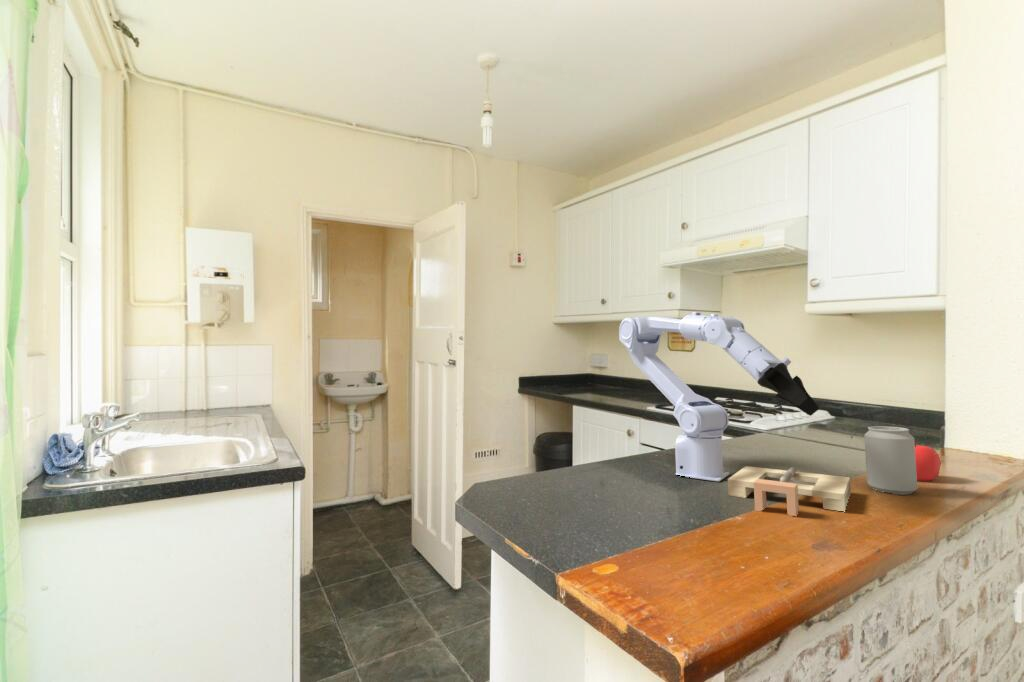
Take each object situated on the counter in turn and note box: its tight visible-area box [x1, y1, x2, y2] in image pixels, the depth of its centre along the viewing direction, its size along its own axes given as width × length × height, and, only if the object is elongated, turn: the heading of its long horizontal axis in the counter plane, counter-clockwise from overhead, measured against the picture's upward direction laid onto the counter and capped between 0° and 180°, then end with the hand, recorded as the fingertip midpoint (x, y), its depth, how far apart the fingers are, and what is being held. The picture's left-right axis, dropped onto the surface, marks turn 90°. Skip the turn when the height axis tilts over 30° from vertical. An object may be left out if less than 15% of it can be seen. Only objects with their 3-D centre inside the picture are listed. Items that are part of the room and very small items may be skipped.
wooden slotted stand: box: [727, 465, 852, 513], centre depth 88 cm, size 18×14×4 cm
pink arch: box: [753, 479, 800, 517], centre depth 78 cm, size 6×3×5 cm, turn 51°
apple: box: [914, 439, 942, 482], centre depth 98 cm, size 8×8×8 cm
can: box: [863, 425, 918, 496], centre depth 90 cm, size 8×8×12 cm
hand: (808, 407), depth 84 cm, fingers open, 7 cm apart
